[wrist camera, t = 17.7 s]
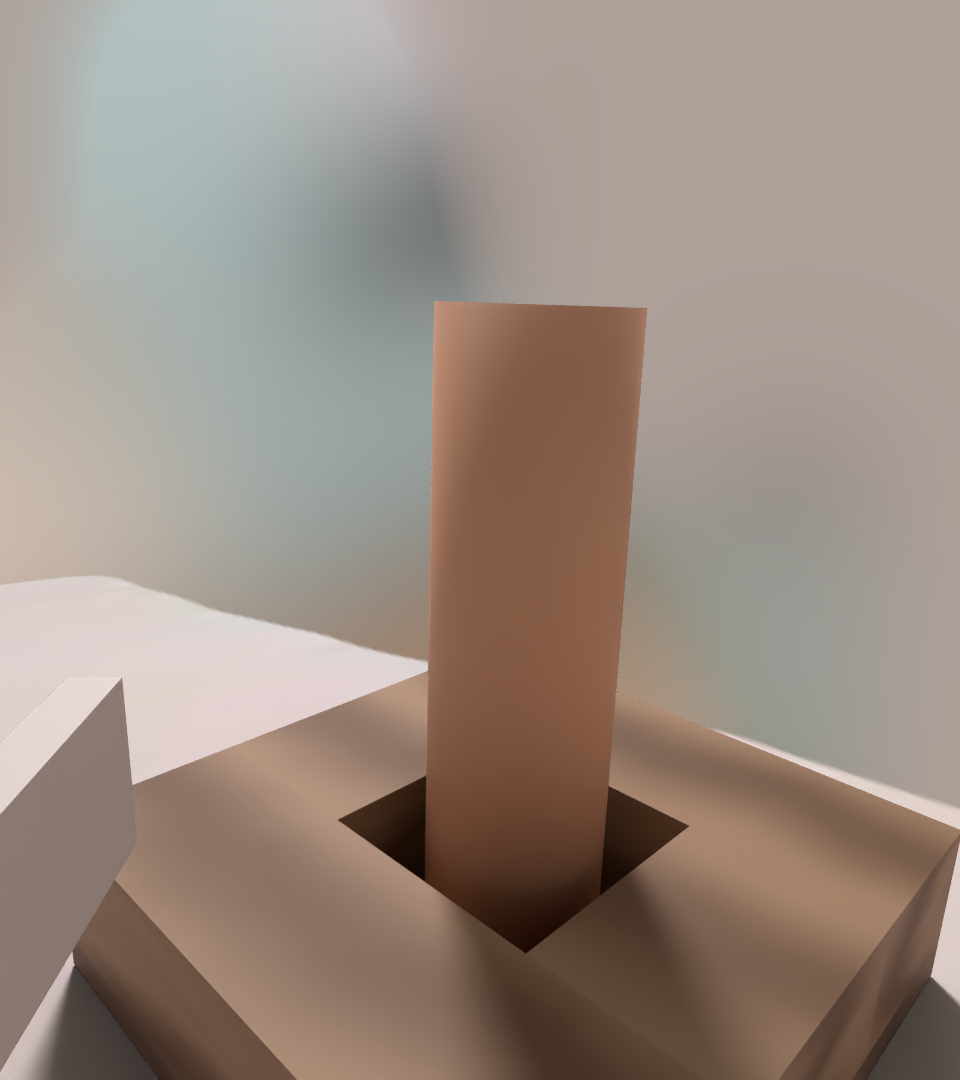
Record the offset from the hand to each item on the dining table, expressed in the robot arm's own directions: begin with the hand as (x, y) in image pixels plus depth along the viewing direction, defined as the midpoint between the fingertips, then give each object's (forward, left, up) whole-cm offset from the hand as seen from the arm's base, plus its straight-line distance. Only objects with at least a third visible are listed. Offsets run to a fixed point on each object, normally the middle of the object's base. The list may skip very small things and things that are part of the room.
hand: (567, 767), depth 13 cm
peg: (+7, +7, -11) cm, 15 cm away
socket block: (+7, +7, -12) cm, 16 cm away
